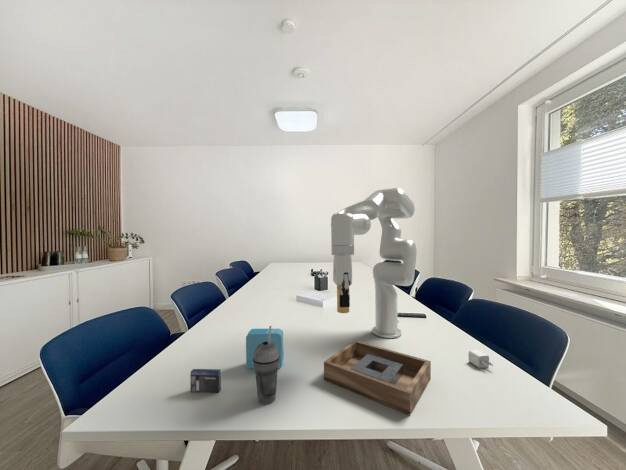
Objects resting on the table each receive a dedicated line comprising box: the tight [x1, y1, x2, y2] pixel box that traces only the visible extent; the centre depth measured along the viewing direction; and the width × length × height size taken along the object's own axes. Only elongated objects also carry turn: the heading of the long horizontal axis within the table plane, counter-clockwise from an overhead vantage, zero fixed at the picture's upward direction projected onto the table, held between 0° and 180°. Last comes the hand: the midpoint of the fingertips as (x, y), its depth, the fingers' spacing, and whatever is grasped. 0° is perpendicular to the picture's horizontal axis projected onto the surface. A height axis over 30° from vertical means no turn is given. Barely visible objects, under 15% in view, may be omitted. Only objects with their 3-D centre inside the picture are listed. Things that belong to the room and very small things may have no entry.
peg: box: [336, 283, 350, 314], centre depth 87 cm, size 4×4×10 cm
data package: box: [245, 328, 285, 370], centre depth 89 cm, size 12×4×12 cm, turn 89°
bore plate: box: [350, 354, 403, 385], centre depth 80 cm, size 12×12×3 cm
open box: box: [323, 339, 432, 416], centre depth 80 cm, size 20×26×6 cm
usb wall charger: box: [468, 349, 494, 369], centre depth 87 cm, size 4×7×4 cm, turn 9°
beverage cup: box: [253, 325, 280, 406], centre depth 71 cm, size 7×7×20 cm
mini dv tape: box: [189, 368, 222, 394], centre depth 75 cm, size 8×2×6 cm, turn 87°
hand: (343, 304), depth 87 cm, fingers closed on peg, 4 cm apart
